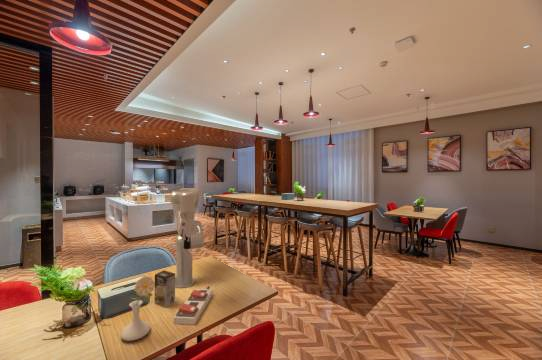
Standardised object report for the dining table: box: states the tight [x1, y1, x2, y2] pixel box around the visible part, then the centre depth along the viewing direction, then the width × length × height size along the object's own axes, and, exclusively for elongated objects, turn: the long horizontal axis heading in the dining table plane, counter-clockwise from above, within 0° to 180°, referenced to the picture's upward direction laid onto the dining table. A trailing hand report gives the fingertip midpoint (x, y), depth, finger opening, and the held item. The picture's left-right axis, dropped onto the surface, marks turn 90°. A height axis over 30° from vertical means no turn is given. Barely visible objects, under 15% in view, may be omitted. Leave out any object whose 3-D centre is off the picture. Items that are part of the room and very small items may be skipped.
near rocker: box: [178, 302, 197, 314], centre depth 114 cm, size 7×4×2 cm, turn 87°
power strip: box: [173, 285, 214, 326], centre depth 128 cm, size 10×36×4 cm, turn 177°
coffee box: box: [154, 270, 176, 308], centre depth 128 cm, size 9×6×16 cm
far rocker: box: [189, 289, 206, 299], centre depth 128 cm, size 7×4×2 cm, turn 87°
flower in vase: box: [120, 275, 155, 342], centre depth 103 cm, size 13×11×25 cm
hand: (187, 248), depth 130 cm, fingers closed
